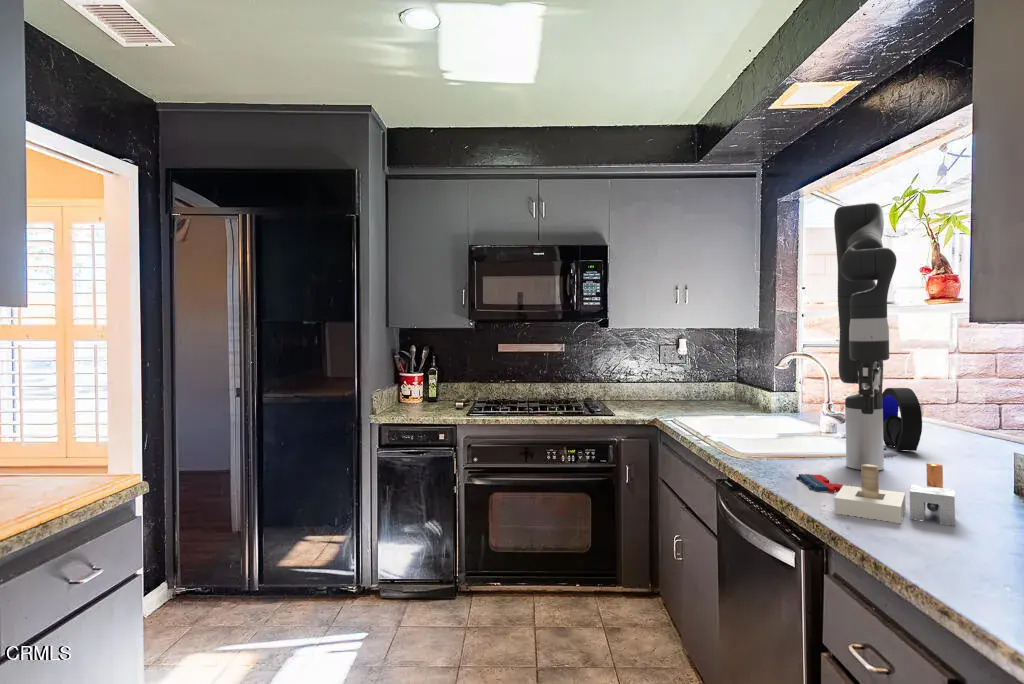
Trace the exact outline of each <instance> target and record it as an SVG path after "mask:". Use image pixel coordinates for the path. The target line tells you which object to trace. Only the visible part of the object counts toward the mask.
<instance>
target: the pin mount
mask: <svg viewBox="0 0 1024 684" xmlns="http://www.w3.org/2000/svg"><path fill="white" fill-rule="evenodd" d="M955 492H956V490H955V489H951V488H944V487H943V488H936V487H927V485H919V484H911V485H910V489H909V520H910V519H916V520H923V521H924V522H925V520H926V515H925V514H926V508H927V507H926V504H927V503H932V504H939V524H940V523H942V524H941V525H943V524H948V525H947V526H950V525H953V526H952V527H955V525H956V502H955V499H956V497H955V495H956V494H955ZM924 519H925V520H924ZM916 520H915V521H916ZM923 521H922V522H923Z"/></svg>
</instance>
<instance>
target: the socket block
mask: <svg viewBox="0 0 1024 684" xmlns="http://www.w3.org/2000/svg"><path fill="white" fill-rule="evenodd" d="M842 485H843V486H842V488H841V489H840V491H837V493H836V495H835V496H834V514H836V515H841V514H842V515H841V516H847V515H849V516H848V517H854V516H857V517H856V518H860V517H863V518H862V519H867V518H869V519H868V520H873V519H877V520H876V521H880V520H883V521H882V522H886V521H889V522H888V523H893V522H894V524H899V523H901V524H902V522H903V519H902V518H904V515H905V512H906V492H901V491H894V490H893V491H892V490H885V489H879V500H878V499H871V498H864V497H862V488H861V487H860V486H853V485H851V486H850V485H849V486H846V485H847V484H842ZM904 511H905V512H904ZM895 522H896V523H895Z"/></svg>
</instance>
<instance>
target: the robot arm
mask: <svg viewBox="0 0 1024 684" xmlns="http://www.w3.org/2000/svg"><path fill="white" fill-rule="evenodd" d="M884 217H885V216H884V210H883V208H882V206H881V205H880V204H879V203H876V202H866V203H858V204H857V203H856V204H850V205H842V206H839V207H837V208H836V210H835V212H834V217H833V225H834V227H833V229H834V238H835V249H836V258H837V259H836V260H837V262H836V263H837V310H838V311H837V312H838V322H839V323H838V325H839V343H838V344H839V345H838V347H839V349H838V375H839V379H840V381H841V382H842V383H843V384H854V385H855V384H858V390H857V392H858V393H856V394H851V395H849V396H846V398H845V399H844V400H845V401H844V406H845V407H844V411H845V415H844V417H845V418H844V419H845V465H846V467H848V468H850V469H855V470H860V471H861V465H864V464H869V465H876V466H878V471H882V470H884V468H885V463H884V462H885V460H884V452H885V451H884V445H885V444H884V440H883V400H882V393H883V381H884V379H883V378H884V361H888V360H889V359H890V329H889V328H890V327H889V321H888V294H889V290H890V285H891V281H892V280H893V279H892V278H893V276H894V273H895V269H896V266H897V256H896V253H895V252H894V250H892V249H891V248H889V247H884V246H883V241H882V238H883V235H884V224H885V221H884V220H885V218H884ZM875 281H877V282H875Z"/></svg>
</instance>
